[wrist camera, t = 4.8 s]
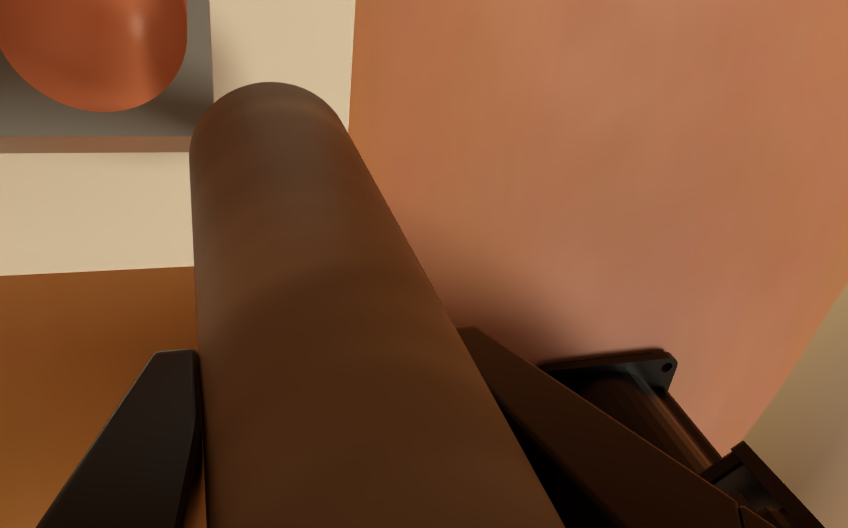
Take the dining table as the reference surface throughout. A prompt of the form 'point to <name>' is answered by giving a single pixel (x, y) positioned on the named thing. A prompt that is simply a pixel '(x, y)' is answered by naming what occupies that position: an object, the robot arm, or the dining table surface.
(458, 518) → the cylinder
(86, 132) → the guard
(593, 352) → the dining table surface
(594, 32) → the dining table surface
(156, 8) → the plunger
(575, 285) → the dining table surface
